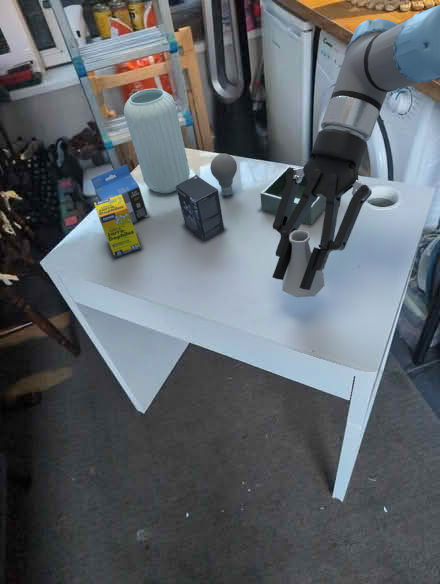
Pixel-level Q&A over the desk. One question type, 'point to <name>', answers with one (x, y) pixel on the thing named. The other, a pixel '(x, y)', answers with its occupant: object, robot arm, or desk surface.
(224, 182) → the light bulb
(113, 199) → the supplement box
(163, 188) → the vase
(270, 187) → the caddy
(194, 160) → the desk surface
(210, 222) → the box
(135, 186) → the tape cartridge
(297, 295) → the flask
